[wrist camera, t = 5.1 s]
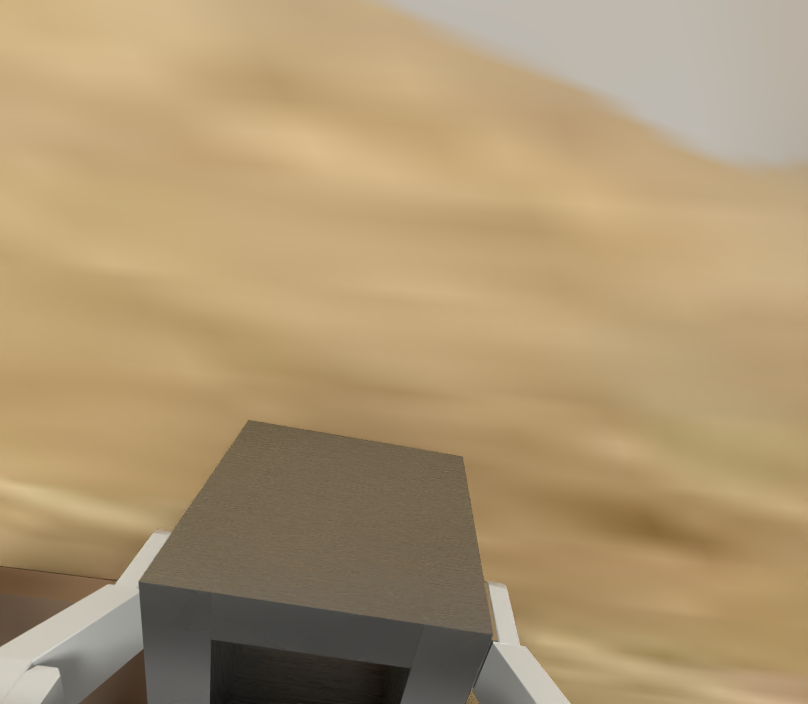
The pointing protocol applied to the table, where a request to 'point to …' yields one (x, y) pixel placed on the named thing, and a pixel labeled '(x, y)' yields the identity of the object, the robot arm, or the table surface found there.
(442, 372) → the table surface
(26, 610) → the post board
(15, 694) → the robot arm
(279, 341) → the table surface
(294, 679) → the collar
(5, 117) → the table surface
